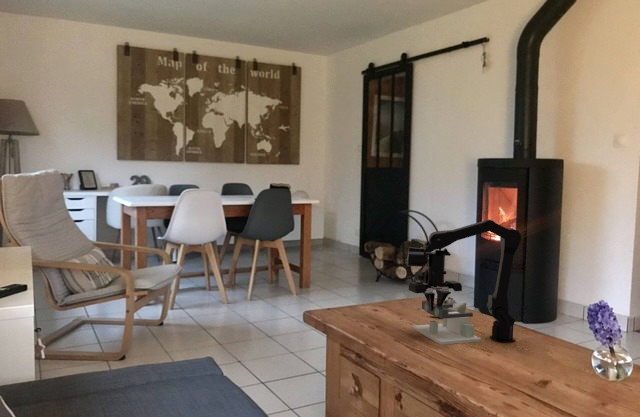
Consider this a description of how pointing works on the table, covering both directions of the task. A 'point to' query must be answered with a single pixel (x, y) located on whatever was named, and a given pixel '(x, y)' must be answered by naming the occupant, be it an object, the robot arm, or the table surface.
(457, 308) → the ceramic sculpture
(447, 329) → the display stand
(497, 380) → the table surface
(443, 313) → the glasses
